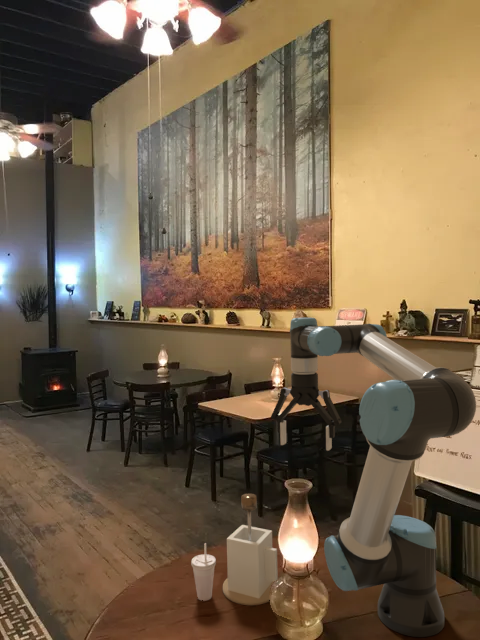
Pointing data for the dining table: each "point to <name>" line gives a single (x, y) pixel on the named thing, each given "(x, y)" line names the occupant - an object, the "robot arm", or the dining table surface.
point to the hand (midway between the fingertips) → (305, 446)
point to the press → (250, 566)
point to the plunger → (249, 509)
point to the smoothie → (204, 574)
